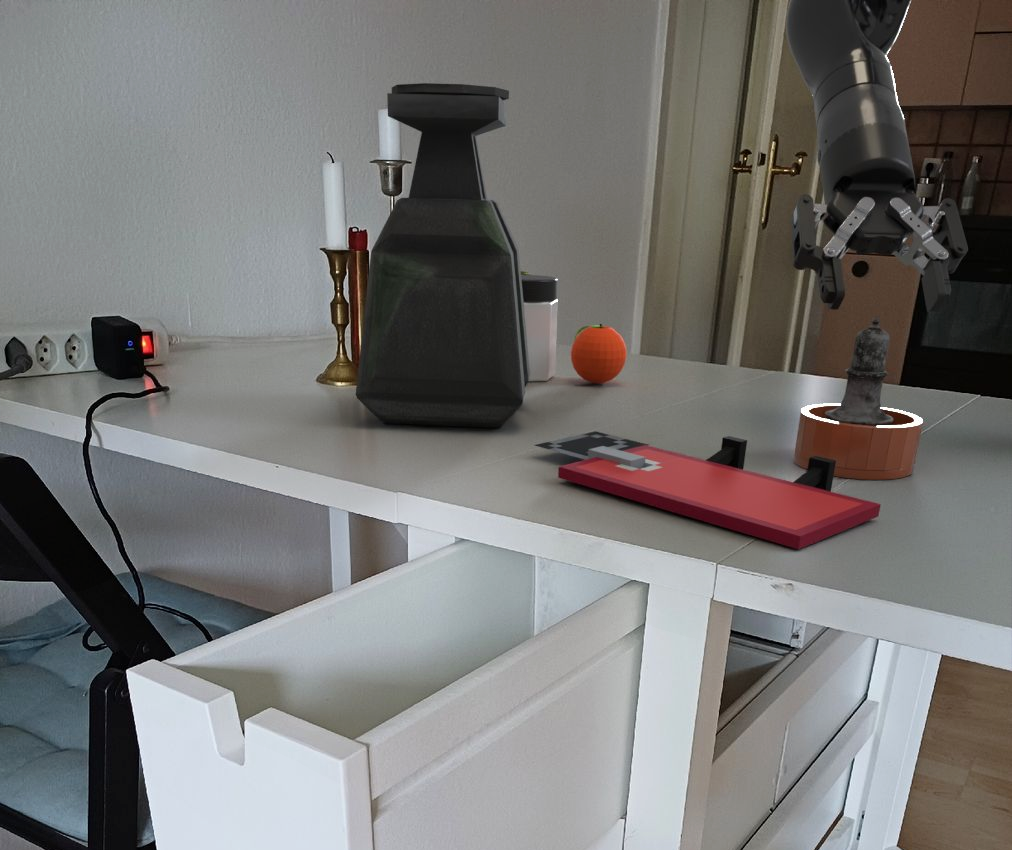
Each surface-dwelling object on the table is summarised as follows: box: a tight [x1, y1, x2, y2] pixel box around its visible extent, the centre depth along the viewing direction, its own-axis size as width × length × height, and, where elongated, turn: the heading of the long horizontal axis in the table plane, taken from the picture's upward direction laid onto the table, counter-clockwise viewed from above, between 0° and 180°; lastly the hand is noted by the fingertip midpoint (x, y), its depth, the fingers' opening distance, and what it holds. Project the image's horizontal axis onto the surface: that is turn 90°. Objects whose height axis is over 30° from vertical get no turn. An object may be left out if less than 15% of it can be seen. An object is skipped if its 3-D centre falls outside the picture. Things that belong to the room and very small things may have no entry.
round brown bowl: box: [793, 403, 924, 481], centre depth 91 cm, size 10×10×4 cm
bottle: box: [355, 82, 530, 429], centre depth 101 cm, size 18×16×30 cm
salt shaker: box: [825, 316, 893, 426], centre depth 89 cm, size 6×6×12 cm
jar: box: [521, 274, 559, 383], centre depth 128 cm, size 9×8×12 cm
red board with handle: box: [533, 431, 882, 550], centre depth 83 cm, size 30×3×15 cm
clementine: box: [570, 323, 628, 384], centre depth 127 cm, size 8×7×7 cm
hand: (887, 304), depth 85 cm, fingers open, 8 cm apart
